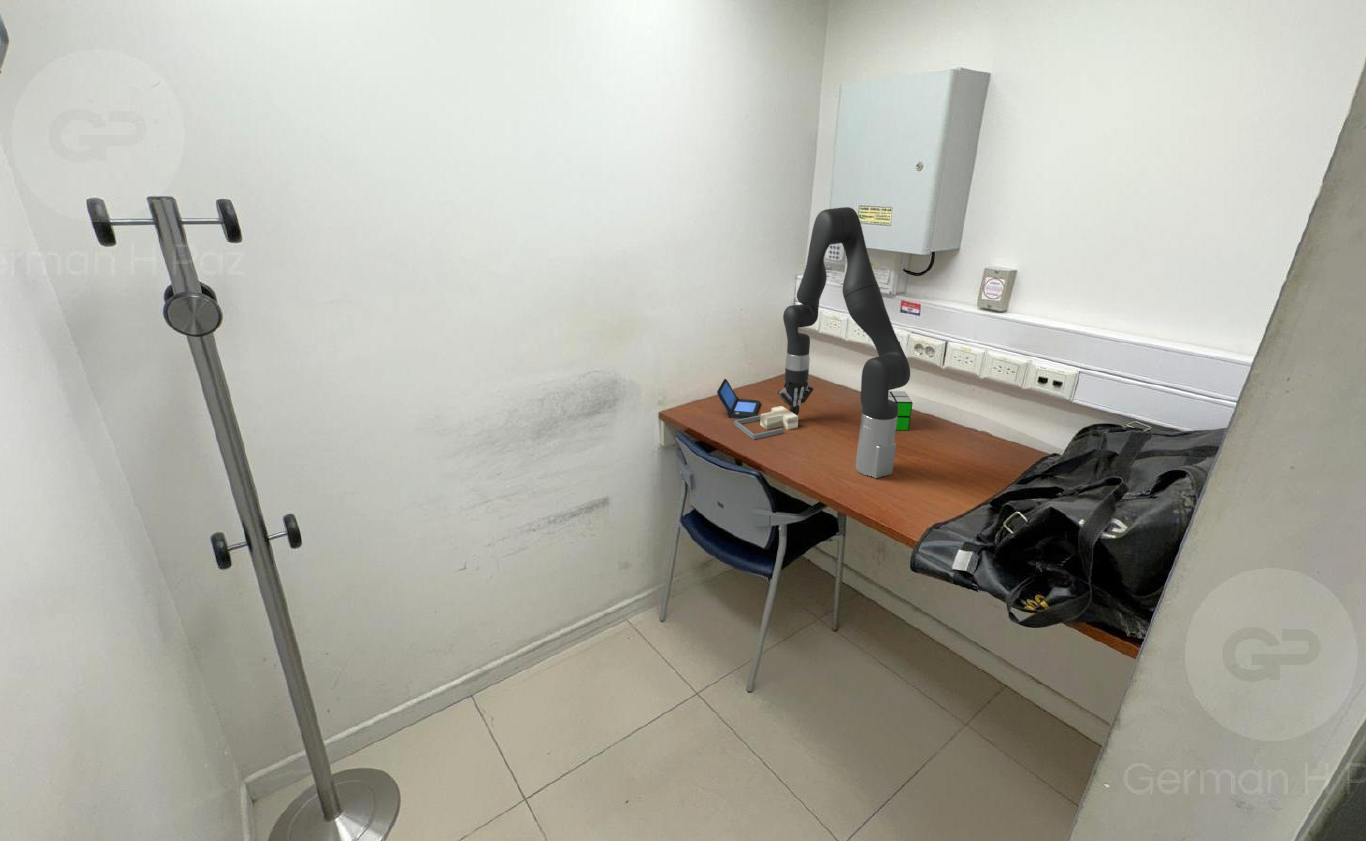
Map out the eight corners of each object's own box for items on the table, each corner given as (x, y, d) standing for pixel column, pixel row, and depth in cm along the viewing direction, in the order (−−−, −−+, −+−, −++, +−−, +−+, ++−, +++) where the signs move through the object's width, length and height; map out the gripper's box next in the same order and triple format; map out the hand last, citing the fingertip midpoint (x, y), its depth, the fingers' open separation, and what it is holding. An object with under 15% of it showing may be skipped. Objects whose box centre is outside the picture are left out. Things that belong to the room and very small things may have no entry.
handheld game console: (754, 420, 197) (755, 395, 194) (716, 417, 200) (716, 392, 197) (760, 403, 211) (761, 379, 207) (724, 400, 214) (724, 377, 211)
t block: (797, 427, 191) (798, 416, 189) (771, 433, 187) (772, 421, 186) (781, 416, 199) (781, 405, 198) (755, 421, 196) (756, 410, 194)
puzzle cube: (901, 418, 196) (905, 390, 192) (908, 431, 187) (913, 402, 183) (870, 418, 197) (874, 390, 193) (876, 430, 188) (880, 401, 184)
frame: (783, 433, 187) (783, 428, 187) (753, 439, 183) (753, 435, 183) (762, 418, 198) (762, 414, 197) (733, 424, 194) (734, 420, 193)
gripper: (786, 372, 182) (783, 423, 189) (821, 366, 187) (817, 415, 194) (773, 365, 189) (771, 414, 196) (807, 360, 193) (804, 408, 200)
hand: (794, 415), depth 195 cm, fingers closed
